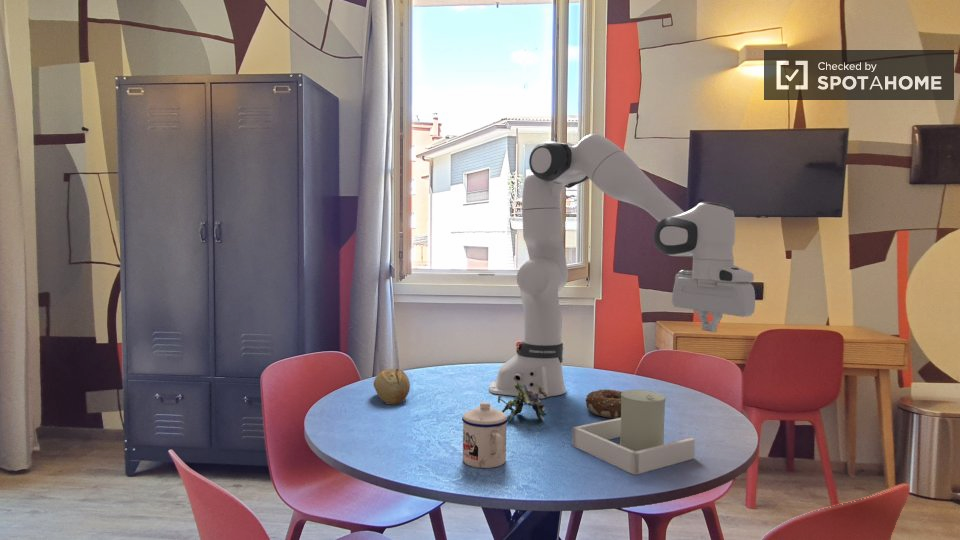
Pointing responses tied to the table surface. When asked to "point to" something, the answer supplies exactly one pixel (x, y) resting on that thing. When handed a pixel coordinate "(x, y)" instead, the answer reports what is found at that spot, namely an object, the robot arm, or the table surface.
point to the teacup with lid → (484, 437)
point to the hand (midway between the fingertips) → (709, 331)
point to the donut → (605, 403)
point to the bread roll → (392, 386)
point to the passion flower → (525, 401)
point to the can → (642, 419)
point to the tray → (598, 445)
